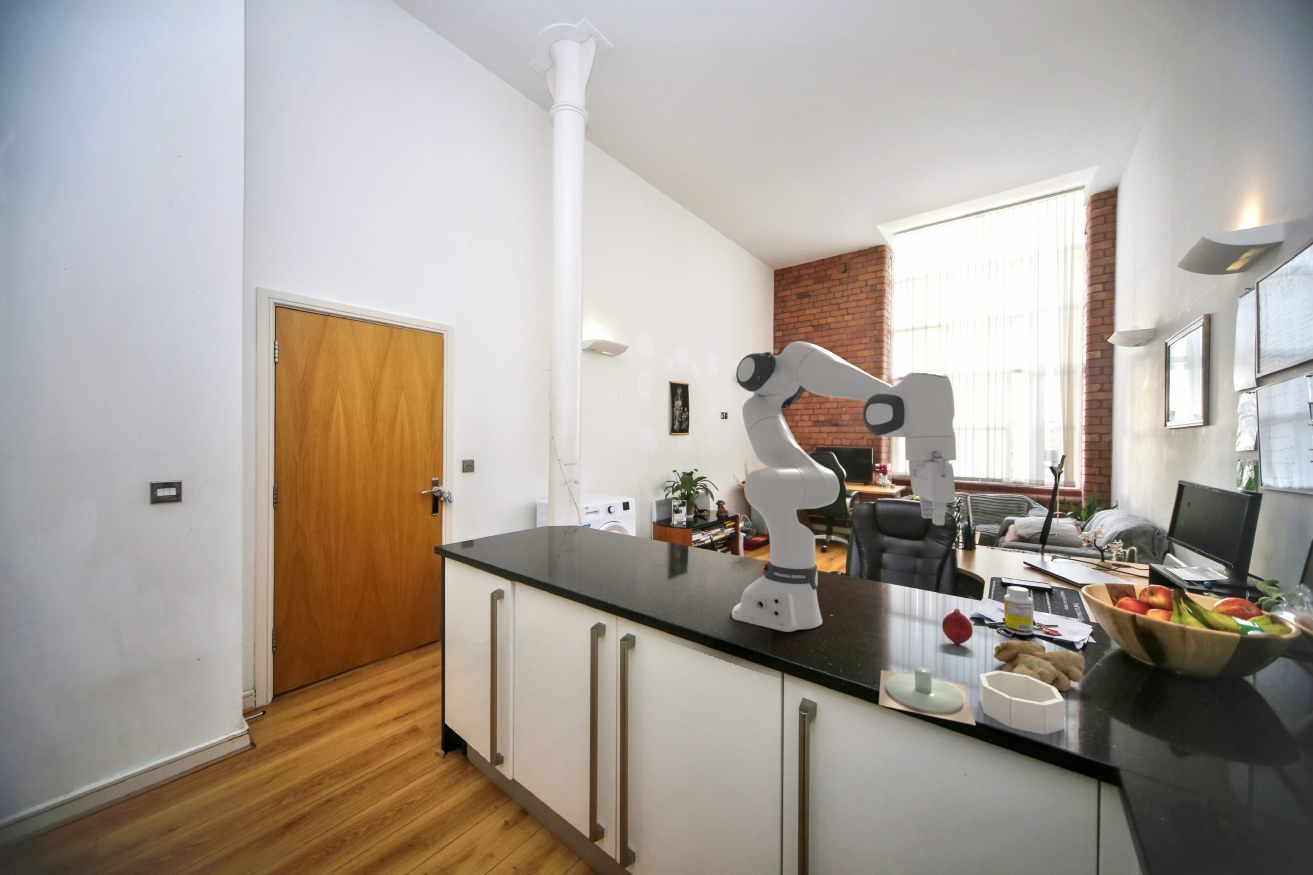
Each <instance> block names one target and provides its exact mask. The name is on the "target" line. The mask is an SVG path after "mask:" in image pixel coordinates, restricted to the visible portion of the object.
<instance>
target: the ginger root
mask: <svg viewBox="0 0 1313 875" xmlns="http://www.w3.org/2000/svg"><path fill="white" fill-rule="evenodd" d="M1046 650H1047V648H1046V646H1044V645H1042V644H1039V643H1037V642H1034V641H1027V640H1014V639H1013V640H1005V641H1002V642H1000V644H999V645H997V646H995V647H994V655H993V658H994V659H996V660H997V661H999V662H1001V663H1005V664H1004V666H1003V667H1002V669H1001V671H1004V672H1010V673H1016V674H1022V675H1027V676H1030V677H1033V678H1035V679H1037V680H1039V681H1042V682H1044V683H1046V684H1049V685H1051V686H1053V687H1055V688H1056V689H1057V690H1058V691H1061V692H1067V691H1069V690H1070V689H1071V684H1072V683H1071V681H1072V682H1073V683H1074V682H1075V683H1080V682H1081V681H1082V680H1083V679H1084V676H1083V673H1082V671H1084V670H1085V664H1086V659H1085V657H1084V655H1082V654H1078V653H1075V652H1070V651H1061V650H1060V651H1058V650H1055V651H1046Z"/></svg>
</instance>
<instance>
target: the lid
mask: <svg viewBox="0 0 1313 875" xmlns="http://www.w3.org/2000/svg"><path fill="white" fill-rule="evenodd" d="M932 675H933V674H932V670H930V668H928V667H922V666H916V667H915V668H914V673H900V674H899V675H894V676H892V677H890V678H888V679H887V681H886V690H887V692H888V693H889V695H890V696H891V697H893V698H894V699H895V700H897V701H898V702H900V703H902V704H904V705H906V706H909V707H911V708H914V709H918V710H921V711H926V712H931V713H952V712H956V711H958V710H960V709H961V708H962V707H963V697H962V695H961V693H960V692H959V691H958V690H957V689H955V688H954V687H952V686H951V685H949V684H947V683H945V682H946V681H944V682H943V680H940V679H937V678H933V677H932Z"/></svg>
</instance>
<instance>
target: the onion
mask: <svg viewBox="0 0 1313 875" xmlns="http://www.w3.org/2000/svg"><path fill="white" fill-rule="evenodd" d="M941 628H942V632H943V633H944V635H945V637H946V638H947V639H948V640H950V641H951V642H953V644H955V645H957V646H959V645H961V644H964V643H966V642H967V641H969V640H970V639H971V638H972V637H973V625H972V623H971V621H970V620H969V618H968V617H967V616H966V615H964V614H963V613H962V612H961V610H960V609H959V608H957V607H956V608H954V610H953V612H950V613H949V614H947V615H946V616H945V617H944V618H943V621H942V625H941Z"/></svg>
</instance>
